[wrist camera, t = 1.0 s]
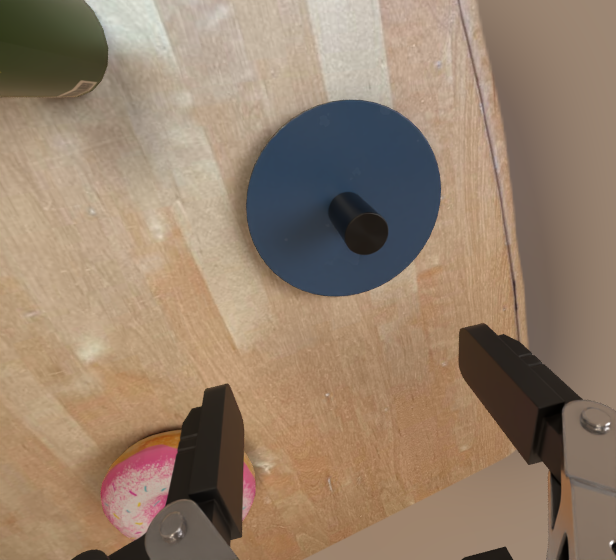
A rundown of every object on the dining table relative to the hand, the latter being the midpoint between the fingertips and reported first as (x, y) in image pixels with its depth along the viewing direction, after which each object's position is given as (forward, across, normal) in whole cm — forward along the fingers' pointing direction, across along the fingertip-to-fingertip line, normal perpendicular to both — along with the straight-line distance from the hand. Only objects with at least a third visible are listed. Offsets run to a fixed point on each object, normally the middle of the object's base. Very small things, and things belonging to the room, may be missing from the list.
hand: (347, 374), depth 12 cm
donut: (+16, +16, +22) cm, 31 cm away
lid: (+15, -4, -1) cm, 16 cm away
